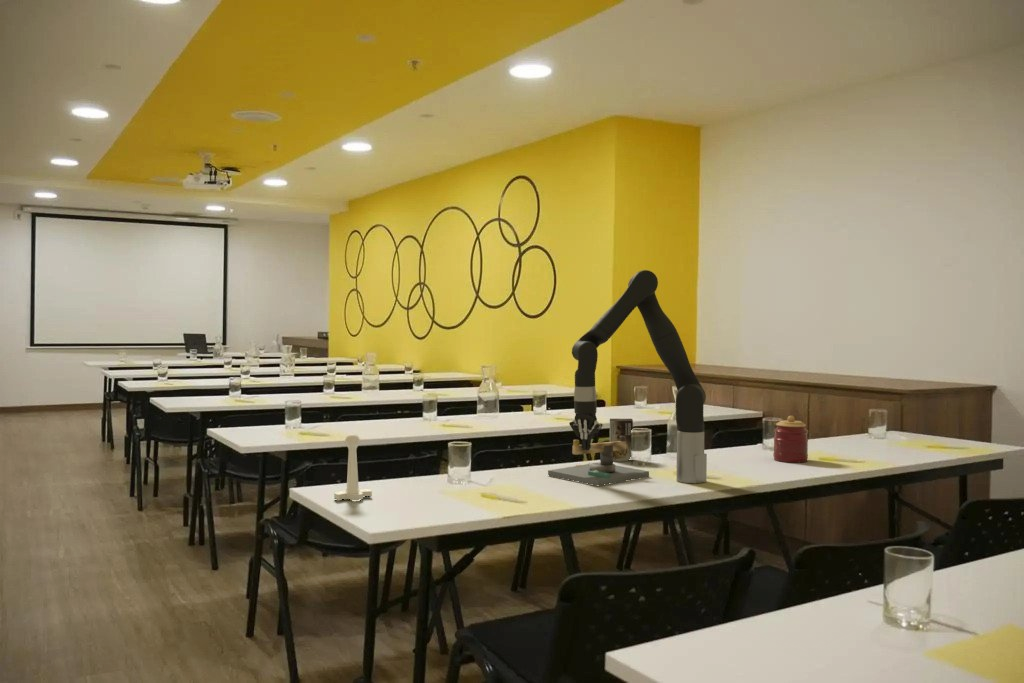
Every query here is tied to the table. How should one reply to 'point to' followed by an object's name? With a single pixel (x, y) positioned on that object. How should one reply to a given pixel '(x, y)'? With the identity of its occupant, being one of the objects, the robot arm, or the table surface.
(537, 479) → the table surface
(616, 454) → the coffee box
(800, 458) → the canister
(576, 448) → the wooden pivot lever
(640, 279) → the robot arm
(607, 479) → the board
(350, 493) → the joystick
